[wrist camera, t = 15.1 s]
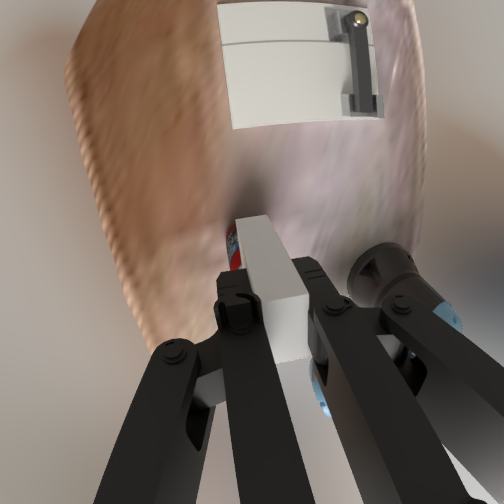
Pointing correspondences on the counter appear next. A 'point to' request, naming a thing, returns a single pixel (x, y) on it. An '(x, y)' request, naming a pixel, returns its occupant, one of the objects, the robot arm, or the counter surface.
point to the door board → (286, 63)
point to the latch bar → (360, 61)
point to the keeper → (348, 110)
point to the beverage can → (233, 249)
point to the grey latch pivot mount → (336, 25)
